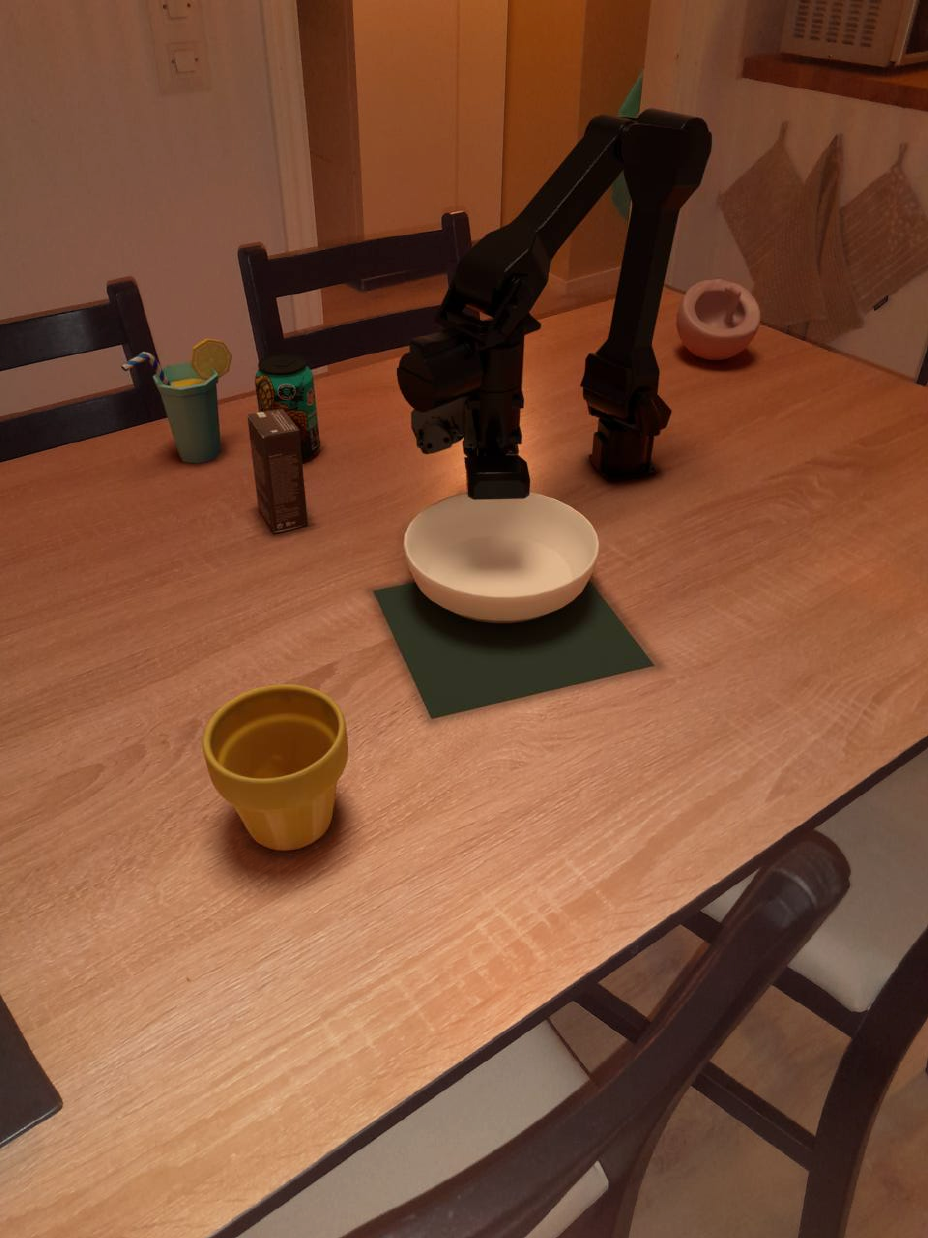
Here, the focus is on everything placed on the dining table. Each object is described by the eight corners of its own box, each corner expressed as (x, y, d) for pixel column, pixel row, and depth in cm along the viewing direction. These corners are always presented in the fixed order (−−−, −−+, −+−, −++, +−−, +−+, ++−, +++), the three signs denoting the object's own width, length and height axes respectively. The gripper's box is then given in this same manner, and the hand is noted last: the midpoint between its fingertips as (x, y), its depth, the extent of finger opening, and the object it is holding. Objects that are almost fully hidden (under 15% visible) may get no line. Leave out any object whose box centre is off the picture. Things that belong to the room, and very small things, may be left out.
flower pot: (229, 773, 80) (210, 685, 74) (355, 765, 81) (346, 677, 75) (215, 876, 72) (192, 787, 66) (354, 866, 73) (344, 777, 67)
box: (311, 525, 110) (300, 429, 102) (272, 534, 108) (259, 437, 101) (294, 500, 114) (283, 406, 107) (257, 508, 112) (243, 414, 105)
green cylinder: (254, 459, 122) (241, 369, 114) (282, 434, 127) (271, 347, 119) (303, 469, 120) (293, 378, 112) (330, 444, 125) (322, 356, 117)
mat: (567, 552, 106) (567, 551, 106) (654, 666, 91) (654, 665, 91) (373, 591, 100) (372, 590, 100) (431, 719, 85) (431, 718, 85)
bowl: (460, 672, 90) (460, 620, 86) (375, 565, 103) (372, 516, 100) (632, 612, 97) (639, 562, 93) (531, 520, 111) (534, 472, 107)
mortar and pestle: (689, 376, 141) (701, 298, 134) (659, 344, 151) (669, 270, 143) (765, 369, 143) (781, 292, 136) (731, 338, 152) (745, 265, 145)
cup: (166, 487, 116) (140, 369, 107) (129, 466, 120) (101, 351, 111) (257, 445, 124) (240, 332, 115) (219, 427, 128) (200, 316, 119)
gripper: (413, 341, 105) (416, 466, 115) (416, 426, 90) (419, 560, 100) (515, 339, 105) (509, 464, 115) (534, 424, 91) (526, 557, 101)
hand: (489, 508), depth 108 cm, fingers closed
